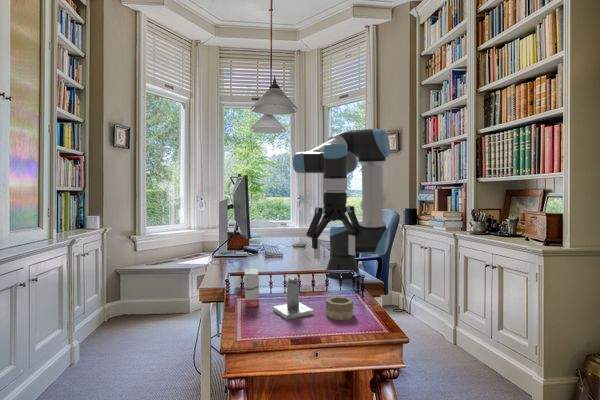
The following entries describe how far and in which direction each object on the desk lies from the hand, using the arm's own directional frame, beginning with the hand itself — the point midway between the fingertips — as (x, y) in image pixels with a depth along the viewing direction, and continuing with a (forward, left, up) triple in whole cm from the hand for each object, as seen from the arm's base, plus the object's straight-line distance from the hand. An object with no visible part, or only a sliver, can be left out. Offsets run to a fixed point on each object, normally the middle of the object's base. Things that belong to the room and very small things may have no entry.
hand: (334, 256), depth 140 cm
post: (+11, -9, -19) cm, 24 cm away
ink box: (+19, -25, -20) cm, 37 cm away
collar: (-1, +1, -19) cm, 19 cm away
